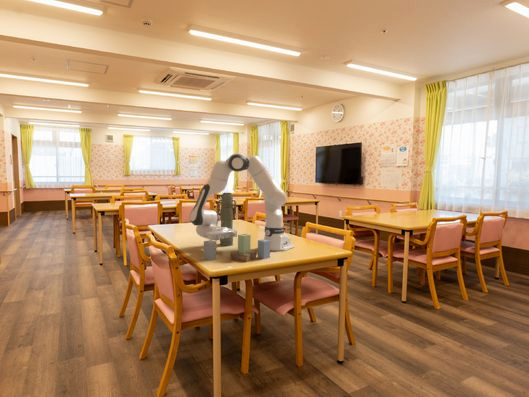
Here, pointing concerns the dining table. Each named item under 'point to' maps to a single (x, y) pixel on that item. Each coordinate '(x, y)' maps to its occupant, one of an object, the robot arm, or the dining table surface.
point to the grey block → (210, 250)
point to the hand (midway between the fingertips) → (230, 236)
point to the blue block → (263, 249)
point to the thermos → (227, 216)
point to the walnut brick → (243, 256)
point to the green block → (244, 243)
